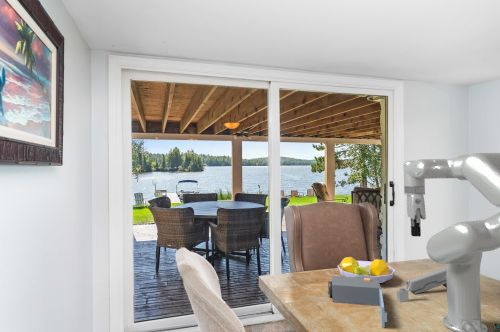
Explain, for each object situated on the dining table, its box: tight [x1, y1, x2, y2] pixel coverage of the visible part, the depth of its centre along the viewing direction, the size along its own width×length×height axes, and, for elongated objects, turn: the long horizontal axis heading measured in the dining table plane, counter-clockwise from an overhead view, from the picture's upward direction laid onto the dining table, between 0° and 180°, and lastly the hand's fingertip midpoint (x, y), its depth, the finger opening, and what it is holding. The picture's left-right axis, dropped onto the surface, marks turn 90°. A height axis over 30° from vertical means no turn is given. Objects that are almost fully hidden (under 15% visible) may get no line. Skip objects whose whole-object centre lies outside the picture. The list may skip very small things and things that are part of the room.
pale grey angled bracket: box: [396, 279, 414, 303], centre depth 130 cm, size 7×2×8 cm, turn 100°
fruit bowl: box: [337, 256, 396, 284], centre depth 156 cm, size 28×27×11 cm
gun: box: [406, 267, 447, 295], centre depth 139 cm, size 2×25×10 cm, turn 99°
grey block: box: [327, 275, 382, 307], centre depth 133 cm, size 12×21×8 cm, turn 75°
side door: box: [378, 288, 388, 328], centre depth 116 cm, size 2×19×7 cm, turn 160°
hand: (415, 235), depth 128 cm, fingers closed
